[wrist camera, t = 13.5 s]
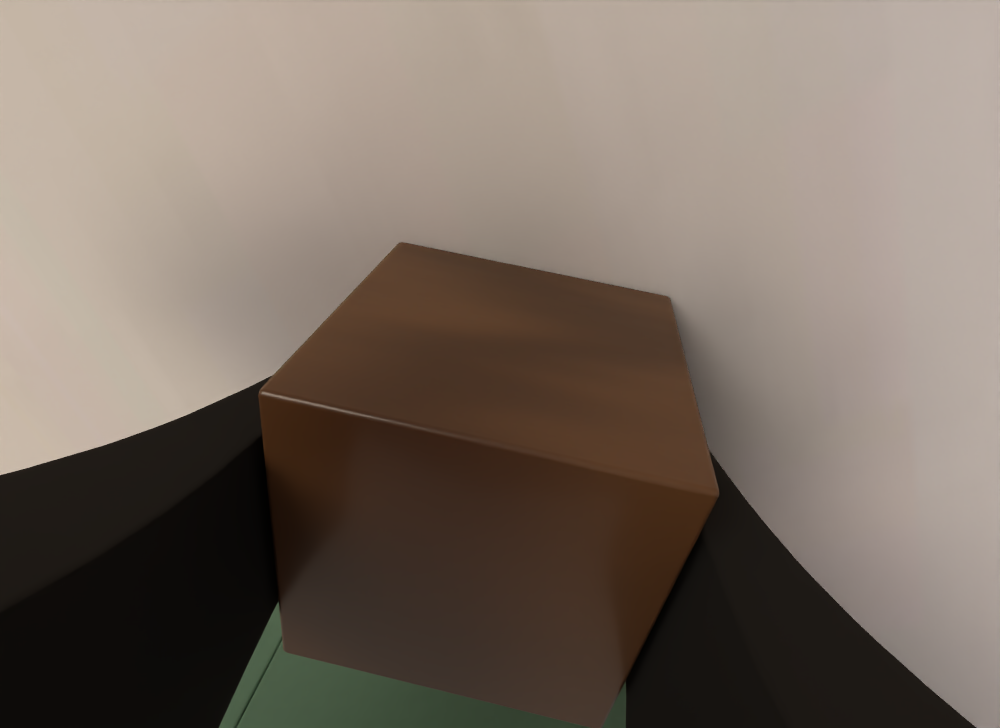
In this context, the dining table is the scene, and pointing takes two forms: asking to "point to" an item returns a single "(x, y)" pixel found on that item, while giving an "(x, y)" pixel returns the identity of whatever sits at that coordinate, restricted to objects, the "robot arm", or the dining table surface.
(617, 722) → the box
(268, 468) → the walnut block
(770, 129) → the dining table surface
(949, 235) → the dining table surface
